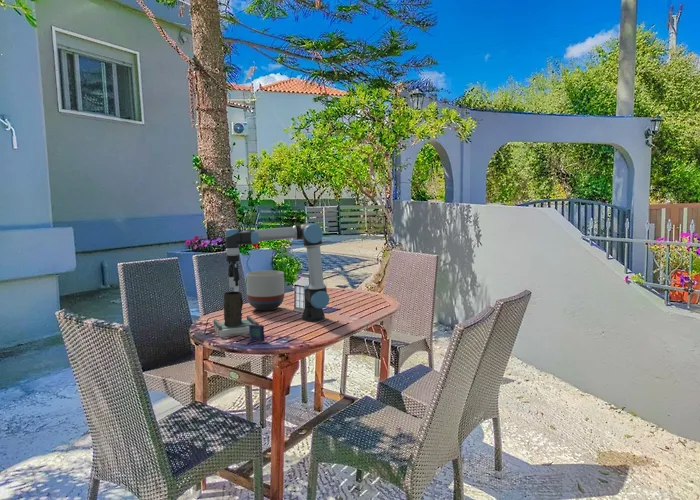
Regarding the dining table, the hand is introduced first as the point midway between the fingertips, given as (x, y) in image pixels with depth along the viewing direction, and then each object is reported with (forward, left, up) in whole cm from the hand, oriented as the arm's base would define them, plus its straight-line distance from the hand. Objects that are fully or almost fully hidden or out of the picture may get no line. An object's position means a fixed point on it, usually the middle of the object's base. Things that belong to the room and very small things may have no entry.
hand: (234, 289), depth 293 cm
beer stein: (+2, 0, -22) cm, 22 cm away
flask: (-25, -7, -26) cm, 37 cm away
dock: (0, 0, -26) cm, 26 cm away
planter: (+48, -33, -26) cm, 64 cm away
